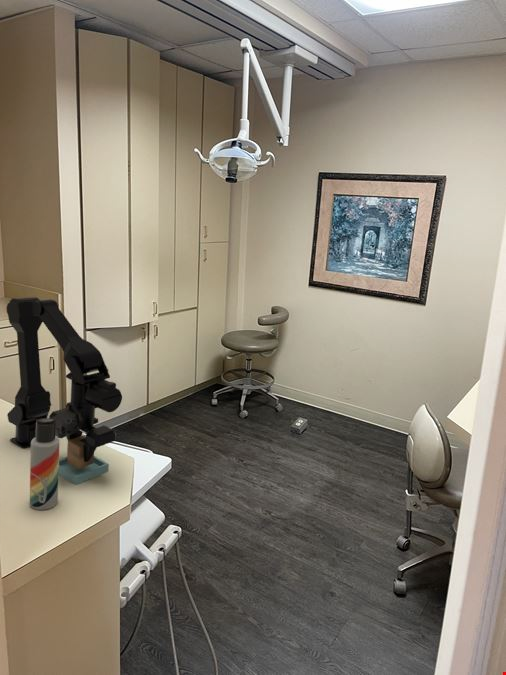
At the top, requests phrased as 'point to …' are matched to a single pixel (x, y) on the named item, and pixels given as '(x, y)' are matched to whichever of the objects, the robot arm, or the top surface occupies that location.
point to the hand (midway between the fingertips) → (80, 458)
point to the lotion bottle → (44, 465)
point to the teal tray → (82, 470)
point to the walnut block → (77, 453)
